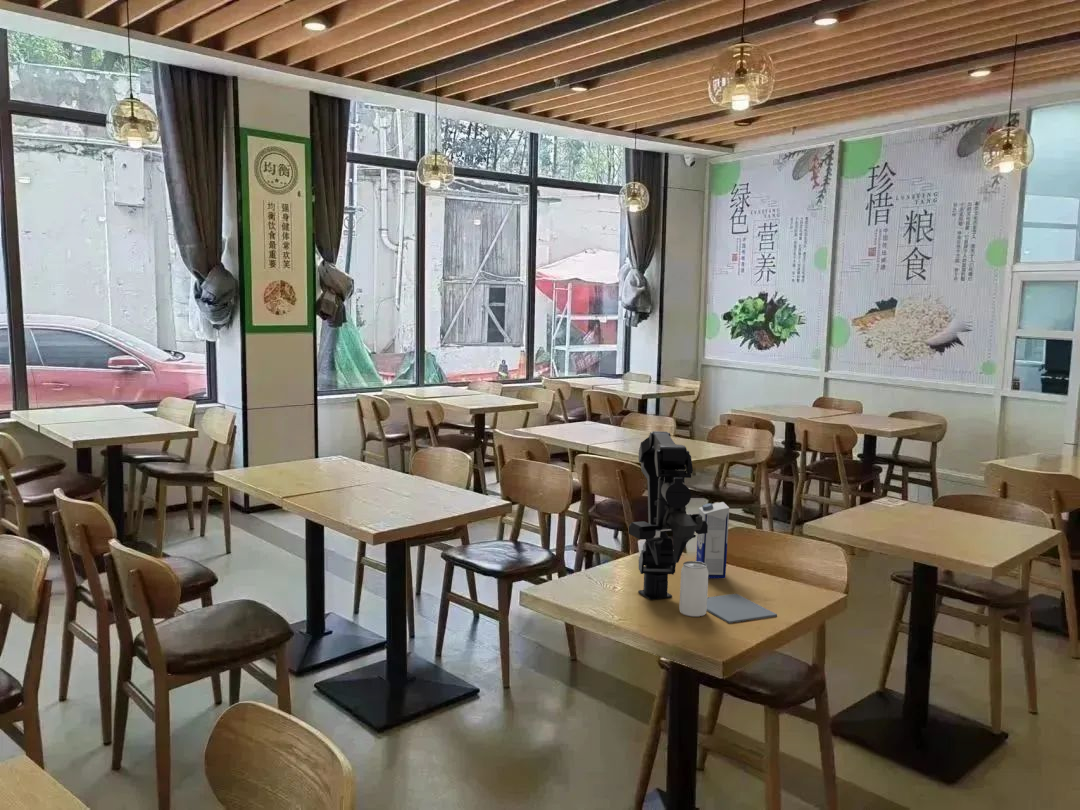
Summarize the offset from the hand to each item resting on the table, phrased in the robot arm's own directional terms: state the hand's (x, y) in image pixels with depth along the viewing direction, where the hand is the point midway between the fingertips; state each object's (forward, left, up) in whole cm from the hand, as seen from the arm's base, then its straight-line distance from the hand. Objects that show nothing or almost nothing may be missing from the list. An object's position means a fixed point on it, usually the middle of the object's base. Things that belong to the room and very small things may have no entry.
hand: (667, 563), depth 204 cm
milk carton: (-24, +30, -13) cm, 41 cm away
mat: (+1, +19, -13) cm, 23 cm away
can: (0, +8, -13) cm, 15 cm away
